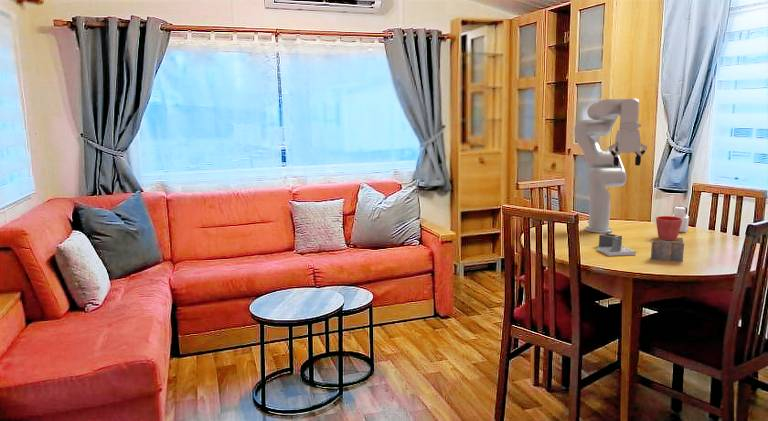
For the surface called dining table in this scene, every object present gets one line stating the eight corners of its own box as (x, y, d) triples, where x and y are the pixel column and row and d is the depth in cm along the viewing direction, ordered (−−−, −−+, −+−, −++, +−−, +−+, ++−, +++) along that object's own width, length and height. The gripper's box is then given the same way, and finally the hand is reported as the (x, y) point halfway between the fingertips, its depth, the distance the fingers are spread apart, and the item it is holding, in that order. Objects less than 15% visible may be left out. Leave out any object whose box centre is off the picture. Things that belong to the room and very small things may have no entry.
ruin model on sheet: (681, 260, 230) (683, 236, 229) (682, 262, 228) (684, 238, 226) (650, 258, 234) (652, 235, 232) (651, 260, 231) (653, 236, 229)
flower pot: (674, 242, 260) (676, 221, 259) (650, 238, 268) (652, 218, 267) (684, 238, 267) (686, 218, 266) (660, 235, 275) (662, 215, 274)
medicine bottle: (672, 228, 290) (673, 205, 288) (687, 229, 286) (689, 206, 284) (669, 230, 284) (671, 207, 282) (685, 232, 280) (687, 208, 278)
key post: (597, 250, 247) (597, 236, 246) (623, 249, 248) (624, 235, 247) (608, 256, 237) (609, 241, 236) (635, 254, 238) (636, 240, 237)
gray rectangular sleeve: (598, 246, 255) (599, 234, 254) (606, 244, 258) (607, 232, 257) (613, 248, 249) (614, 237, 248) (621, 246, 252) (622, 235, 252)
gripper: (643, 126, 258) (641, 164, 260) (605, 127, 257) (604, 165, 260) (652, 126, 250) (649, 165, 253) (613, 127, 250) (611, 166, 252)
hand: (626, 165), depth 256 cm, fingers open, 9 cm apart
